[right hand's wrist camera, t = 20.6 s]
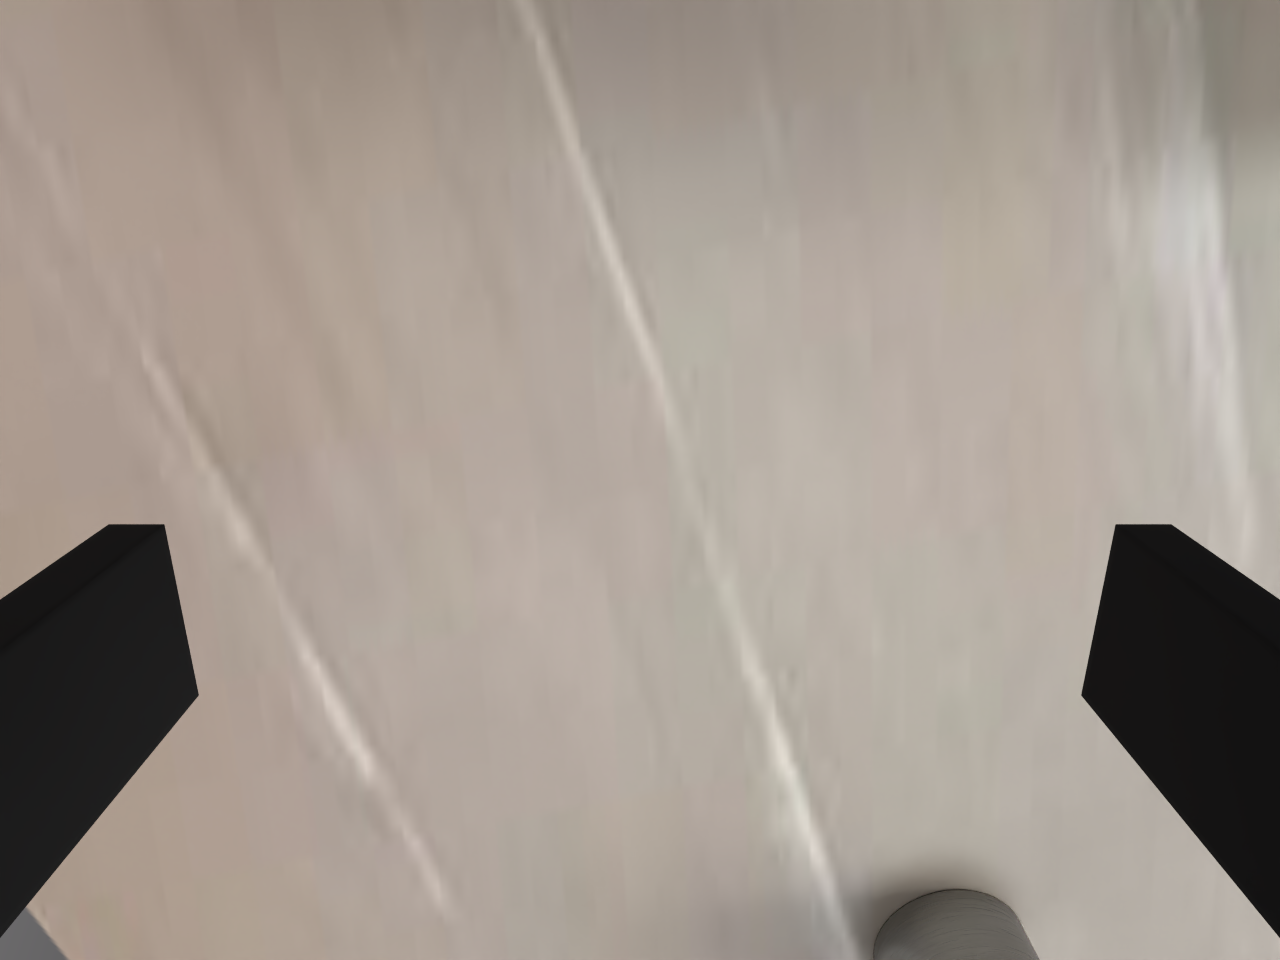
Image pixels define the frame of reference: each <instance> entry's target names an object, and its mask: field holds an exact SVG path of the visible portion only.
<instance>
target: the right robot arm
mask: <svg viewBox="0 0 1280 960" xmlns="http://www.w3.org/2000/svg"><path fill="white" fill-rule="evenodd" d="M198 696H199V694H198V689H197V684H196V679H195V674H194V669H193V664H192V659H191V655H190V650H189V645H188V640H187V635H186V630H185V625H184V620H183V615H182V610H181V605H180V600H179V595H178V590H177V585H176V580H175V575H174V570H173V565H172V560H171V555H170V550H169V545H168V540H167V535H166V530H165V525H164V524H109V525H107V526H106V527H104V528H103V529H101V530H100V531H99V532H97V533H96V534H94V535H93V536H91V537H90V538H89V539H87V540H86V541H84V542H83V543H81V544H80V545H78V546H77V547H76V548H74V549H73V550H71V551H70V552H68V553H67V554H65V555H64V556H63V557H61V558H60V559H58V560H57V561H55V562H54V563H52V564H51V565H50V566H48V567H47V568H45V569H44V570H42V571H41V572H39V573H38V574H37V575H35V576H34V577H32V578H31V579H29V580H28V581H26V582H25V583H24V584H22V585H21V586H19V587H18V588H16V589H15V590H13V591H12V592H11V593H9V594H8V595H6V596H5V597H3V598H2V599H1V600H0V937H1V936H2V935H3V934H4V933H5V931H6V930H7V929H8V928H9V926H10V925H11V924H12V923H13V922H14V920H15V919H16V918H17V917H18V915H19V914H20V913H21V912H22V910H23V909H24V908H25V907H26V906H27V904H28V903H29V902H30V901H31V900H32V898H33V897H34V896H35V895H36V893H37V892H38V891H39V890H40V889H41V887H42V886H43V885H44V884H45V882H46V881H47V880H48V879H49V878H50V876H51V875H52V874H53V873H54V871H55V870H56V869H57V868H58V867H59V865H60V864H61V863H62V862H63V860H64V859H65V858H66V857H67V856H68V854H69V853H70V852H71V851H72V849H73V848H74V847H75V846H76V845H77V843H78V842H79V841H80V840H81V838H82V837H83V836H84V835H85V834H86V832H87V831H88V830H89V829H90V827H91V826H92V825H93V824H94V823H95V821H96V820H97V819H98V818H99V816H100V815H101V814H102V813H103V812H104V810H105V809H106V808H107V807H108V805H109V804H110V803H111V802H112V801H113V799H114V798H115V797H116V796H117V794H118V793H119V792H120V791H121V790H122V788H123V787H124V786H125V785H126V783H127V782H128V781H129V780H130V779H131V777H132V776H133V775H134V774H135V773H136V771H137V770H138V769H139V768H140V766H141V765H142V764H143V763H144V762H145V760H146V759H147V758H148V757H149V755H150V754H151V753H152V752H153V751H154V749H155V748H156V747H157V746H158V744H159V743H160V742H161V741H162V740H163V738H164V737H165V736H166V735H167V733H168V732H169V731H170V730H171V729H172V727H173V726H174V725H175V724H176V722H177V721H178V720H179V719H180V718H181V716H182V715H183V714H184V713H185V711H186V710H187V709H188V708H189V707H190V705H191V704H192V703H193V702H194V700H195V699H196V698H197V697H198ZM1081 696H1082V697H1083V698H1084V699H1085V700H1086V702H1087V703H1088V704H1089V705H1090V707H1091V708H1092V709H1093V710H1094V711H1095V713H1096V714H1097V715H1098V716H1099V718H1100V719H1101V720H1102V721H1103V722H1104V724H1105V725H1106V726H1107V727H1108V729H1109V730H1110V731H1111V732H1112V733H1113V735H1114V736H1115V737H1116V738H1117V740H1118V741H1119V742H1120V743H1121V744H1122V746H1123V747H1124V748H1125V749H1126V751H1127V752H1128V753H1129V754H1130V755H1131V757H1132V758H1133V759H1134V760H1135V762H1136V763H1137V764H1138V765H1139V766H1140V768H1141V769H1142V770H1143V771H1144V773H1145V774H1146V775H1147V776H1148V777H1149V779H1150V780H1151V781H1152V782H1153V783H1154V785H1155V786H1156V787H1157V788H1158V790H1159V791H1160V792H1161V793H1162V794H1163V796H1164V797H1165V798H1166V799H1167V801H1168V802H1169V803H1170V804H1171V805H1172V807H1173V808H1174V809H1175V810H1176V812H1177V813H1178V814H1179V815H1180V816H1181V818H1182V819H1183V820H1184V821H1185V823H1186V824H1187V825H1188V826H1189V827H1190V829H1191V830H1192V831H1193V832H1194V834H1195V835H1196V836H1197V837H1198V838H1199V840H1200V841H1201V842H1202V843H1203V845H1204V846H1205V847H1206V848H1207V849H1208V851H1209V852H1210V853H1211V854H1212V856H1213V857H1214V858H1215V859H1216V860H1217V862H1218V863H1219V864H1220V865H1221V867H1222V868H1223V869H1224V870H1225V871H1226V873H1227V874H1228V875H1229V876H1230V878H1231V879H1232V880H1233V881H1234V882H1235V884H1236V885H1237V886H1238V887H1239V889H1240V890H1241V891H1242V892H1243V893H1244V895H1245V896H1246V897H1247V898H1248V900H1249V901H1250V902H1251V903H1252V904H1253V906H1254V907H1255V908H1256V909H1257V911H1258V912H1259V913H1260V914H1261V915H1262V917H1263V918H1264V919H1265V920H1266V922H1267V923H1268V924H1269V925H1270V926H1271V928H1272V929H1273V930H1274V931H1275V933H1276V934H1277V935H1278V936H1279V937H1280V600H1279V599H1278V598H1277V597H1275V596H1274V595H1272V594H1271V593H1269V592H1268V591H1267V590H1265V589H1264V588H1262V587H1261V586H1259V585H1258V584H1256V583H1255V582H1254V581H1252V580H1251V579H1249V578H1248V577H1246V576H1245V575H1243V574H1242V573H1241V572H1239V571H1238V570H1236V569H1235V568H1233V567H1232V566H1230V565H1229V564H1228V563H1226V562H1225V561H1223V560H1222V559H1220V558H1219V557H1217V556H1216V555H1215V554H1213V553H1212V552H1210V551H1209V550H1207V549H1206V548H1204V547H1203V546H1202V545H1200V544H1199V543H1197V542H1196V541H1194V540H1193V539H1191V538H1190V537H1189V536H1187V535H1186V534H1184V533H1183V532H1181V531H1180V530H1179V529H1177V528H1176V527H1174V526H1173V525H1171V524H1116V525H1115V530H1114V535H1113V540H1112V545H1111V550H1110V555H1109V560H1108V565H1107V570H1106V575H1105V580H1104V585H1103V590H1102V595H1101V600H1100V605H1099V610H1098V615H1097V620H1096V625H1095V630H1094V635H1093V640H1092V645H1091V650H1090V655H1089V659H1088V664H1087V669H1086V674H1085V679H1084V684H1083V689H1082V694H1081Z"/></svg>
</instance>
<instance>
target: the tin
mask: <svg viewBox="0 0 1280 960" xmlns="http://www.w3.org/2000/svg"><path fill="white" fill-rule="evenodd" d="M874 960H1039V958H1038V956H1037V954H1036V952H1035V950H1034V948H1033V946H1032V944H1031V942H1030V940H1029V938H1028V936H1027V935H1026V933H1025V931H1024V929H1023V927H1022V925H1021V923H1020V921H1019V919H1018V917H1017V916H1016V915H1015V913H1014V912H1013V911H1012V910H1011V909H1010V908H1009V907H1008V906H1007V905H1006V904H1004V903H1003V902H1001V901H1000V900H998V899H996V898H994V897H992V896H990V895H987V894H984V893H980V892H976V891H969V890H948V891H941V892H936V893H932V894H929V895H925V896H923V897H920V898H918V899H915V900H913V901H912V902H910V903H908V904H906V905H905V906H903V907H902V908H900V909H899V910H898V911H897V912H895V913H894V914H893V915H892V916H891V917H890V918H889V919H888V920H887V922H886V923H885V924H884V926H883V927H882V929H881V930H880V932H879V934H878V936H877V939H876V942H875V946H874Z"/></svg>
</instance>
